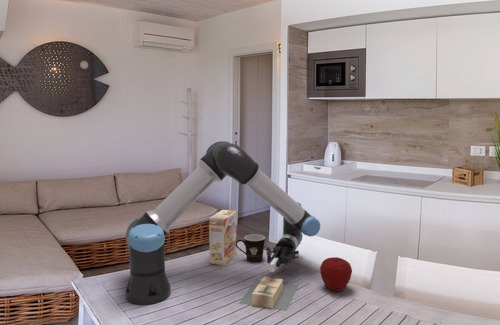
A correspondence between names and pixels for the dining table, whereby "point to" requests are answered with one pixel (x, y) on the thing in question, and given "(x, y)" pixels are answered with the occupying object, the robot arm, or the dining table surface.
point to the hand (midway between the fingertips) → (271, 268)
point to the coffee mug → (253, 247)
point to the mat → (282, 301)
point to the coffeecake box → (222, 236)
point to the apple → (335, 273)
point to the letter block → (267, 292)
